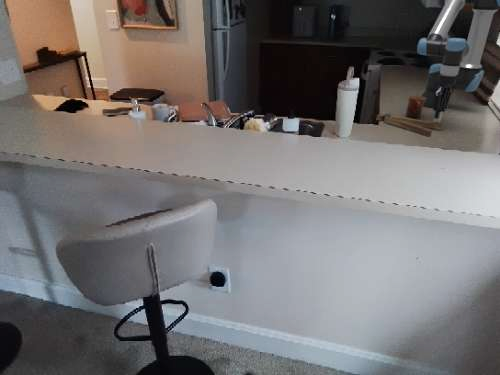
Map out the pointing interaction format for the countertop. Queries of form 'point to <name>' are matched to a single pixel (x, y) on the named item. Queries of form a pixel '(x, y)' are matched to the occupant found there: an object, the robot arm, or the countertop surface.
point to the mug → (415, 106)
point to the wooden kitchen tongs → (403, 124)
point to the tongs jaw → (420, 122)
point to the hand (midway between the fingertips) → (435, 124)
